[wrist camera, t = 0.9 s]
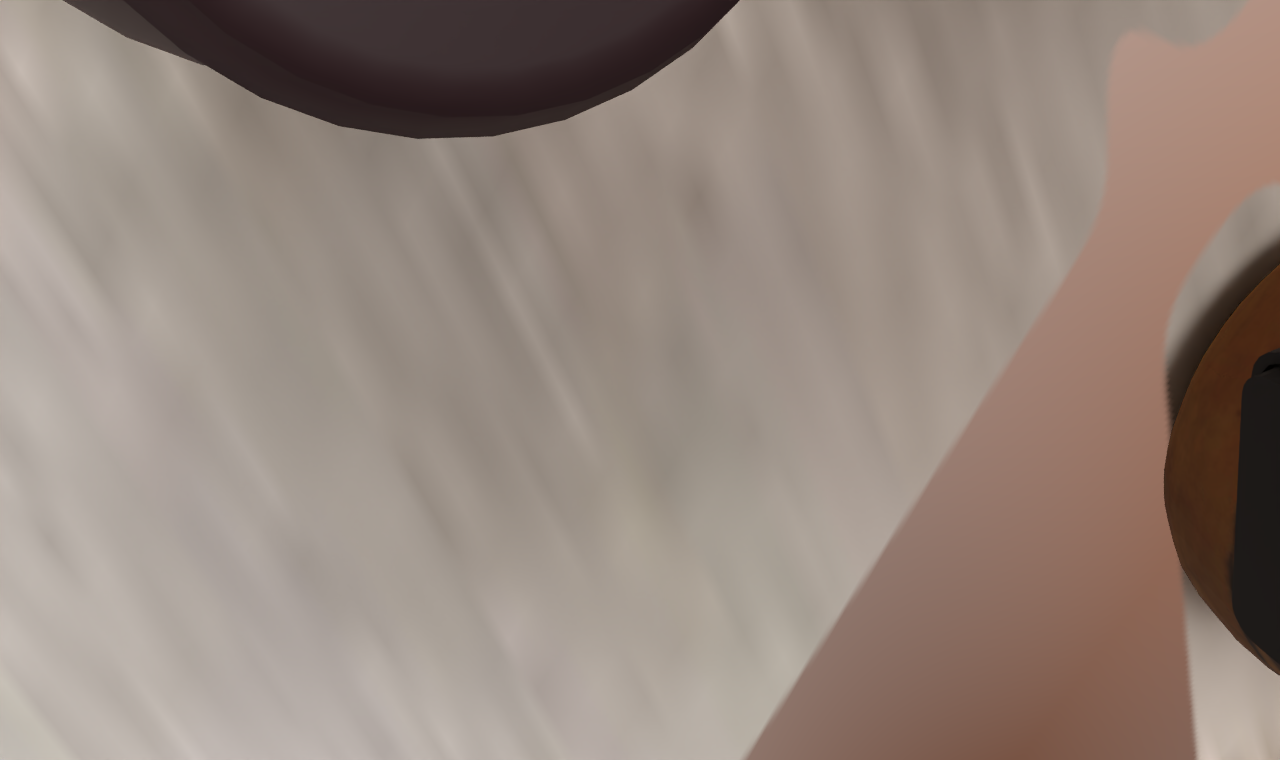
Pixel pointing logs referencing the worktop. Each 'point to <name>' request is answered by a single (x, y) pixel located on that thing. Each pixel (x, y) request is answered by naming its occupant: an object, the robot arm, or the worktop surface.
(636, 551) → the worktop surface
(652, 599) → the worktop surface
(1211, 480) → the brown ceramic vase
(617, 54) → the wine bottle
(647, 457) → the worktop surface
